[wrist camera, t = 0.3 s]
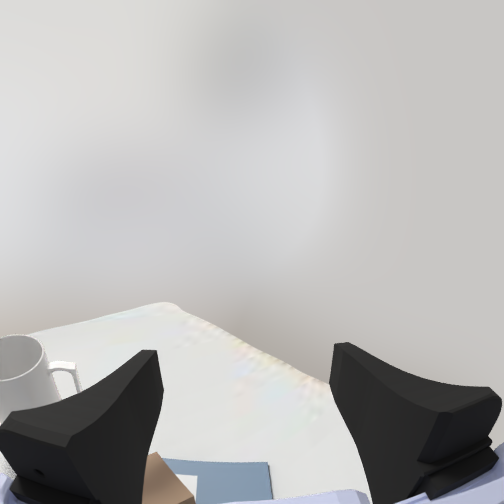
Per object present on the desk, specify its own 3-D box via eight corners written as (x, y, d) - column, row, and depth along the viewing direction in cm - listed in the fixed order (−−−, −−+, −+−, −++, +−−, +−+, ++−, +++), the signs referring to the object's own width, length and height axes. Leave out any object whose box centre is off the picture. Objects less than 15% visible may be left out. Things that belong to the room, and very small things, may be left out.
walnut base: (197, 511, 20) (194, 495, 19) (141, 537, 16) (131, 523, 15) (162, 470, 24) (156, 451, 23) (110, 491, 20) (100, 473, 19)
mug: (7, 456, 19) (-37, 380, 16) (15, 407, 27) (-15, 335, 24) (99, 455, 24) (69, 379, 21) (94, 404, 32) (74, 330, 29)
